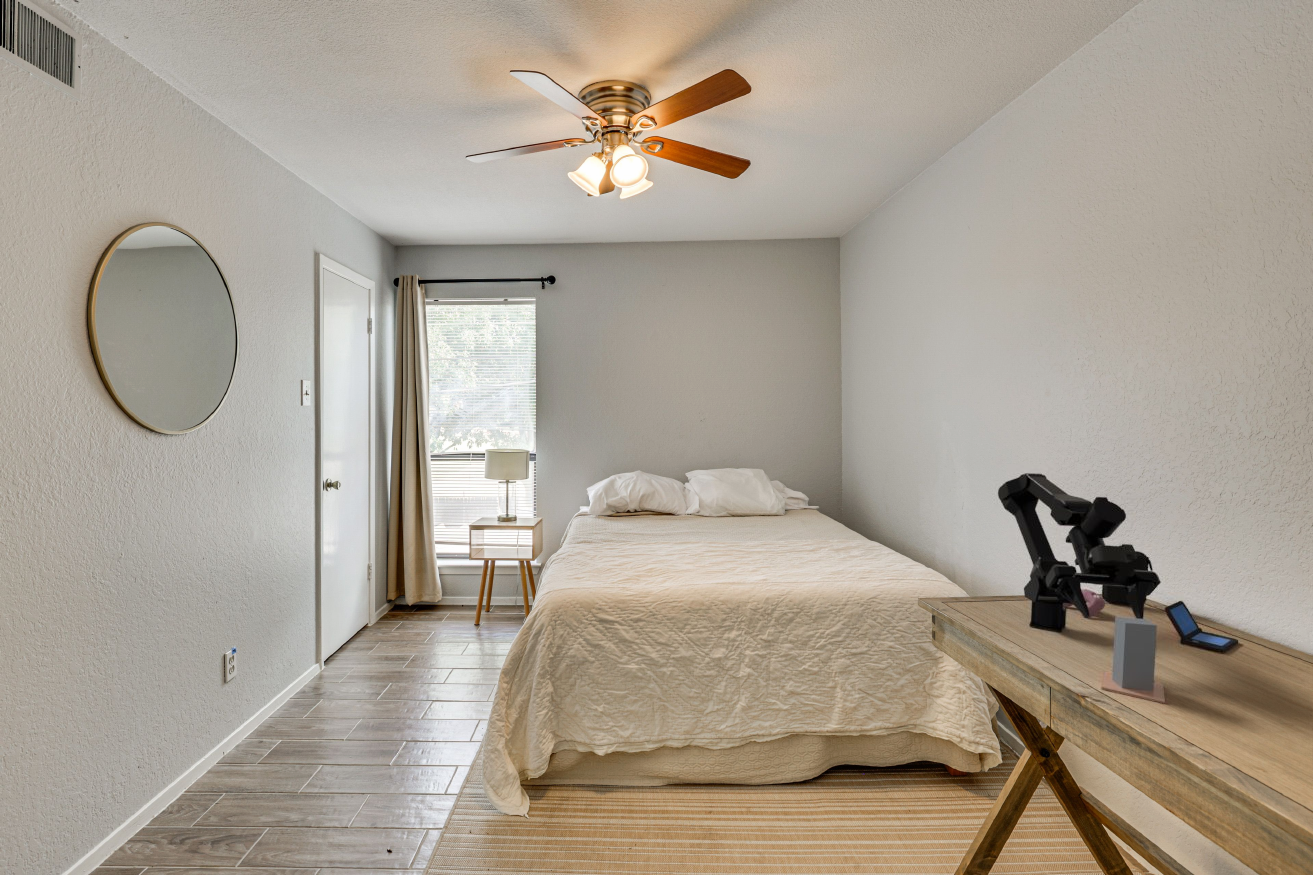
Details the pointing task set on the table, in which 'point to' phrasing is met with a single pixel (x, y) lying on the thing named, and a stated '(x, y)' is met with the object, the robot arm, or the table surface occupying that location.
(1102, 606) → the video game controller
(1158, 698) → the terracotta pad
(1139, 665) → the grey rectangular pillar
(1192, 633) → the handheld game console
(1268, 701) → the table surface
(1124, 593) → the carrying case or bag
